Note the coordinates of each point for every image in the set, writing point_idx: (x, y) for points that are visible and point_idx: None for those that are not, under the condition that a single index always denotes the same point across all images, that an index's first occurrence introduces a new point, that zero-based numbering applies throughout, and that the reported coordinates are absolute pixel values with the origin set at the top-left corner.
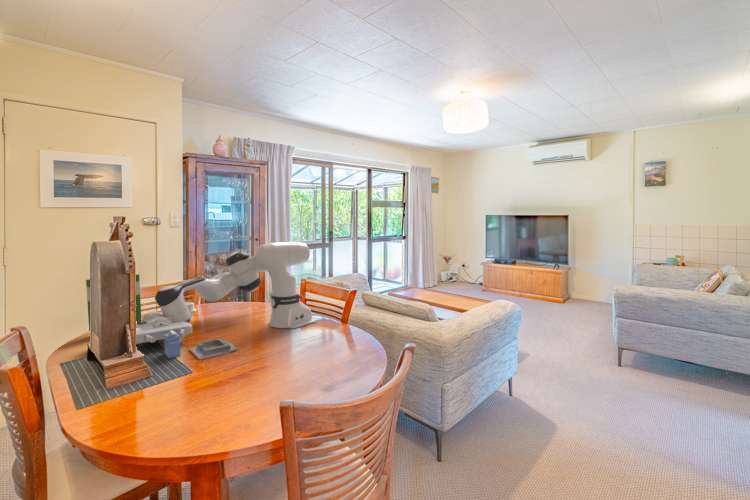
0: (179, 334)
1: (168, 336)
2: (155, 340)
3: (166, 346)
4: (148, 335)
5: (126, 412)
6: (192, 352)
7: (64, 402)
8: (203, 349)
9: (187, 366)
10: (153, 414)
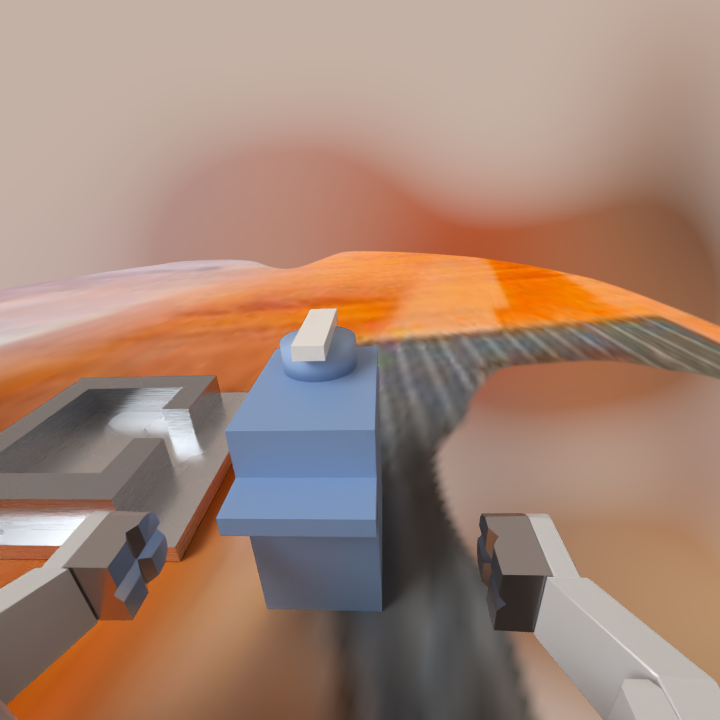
0: (157, 519)
1: (356, 367)
2: (480, 540)
3: (379, 458)
4: (654, 688)
5: (523, 292)
6: (218, 481)
7: None
8: (201, 395)
9: None
10: (470, 282)
